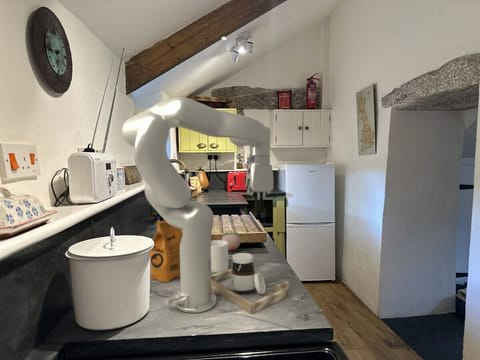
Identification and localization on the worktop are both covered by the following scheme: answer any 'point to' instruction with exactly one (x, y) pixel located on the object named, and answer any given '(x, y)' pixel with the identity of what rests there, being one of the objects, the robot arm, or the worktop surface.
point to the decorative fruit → (232, 240)
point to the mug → (219, 256)
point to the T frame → (255, 306)
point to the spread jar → (245, 275)
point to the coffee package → (166, 253)
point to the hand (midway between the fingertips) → (258, 209)
